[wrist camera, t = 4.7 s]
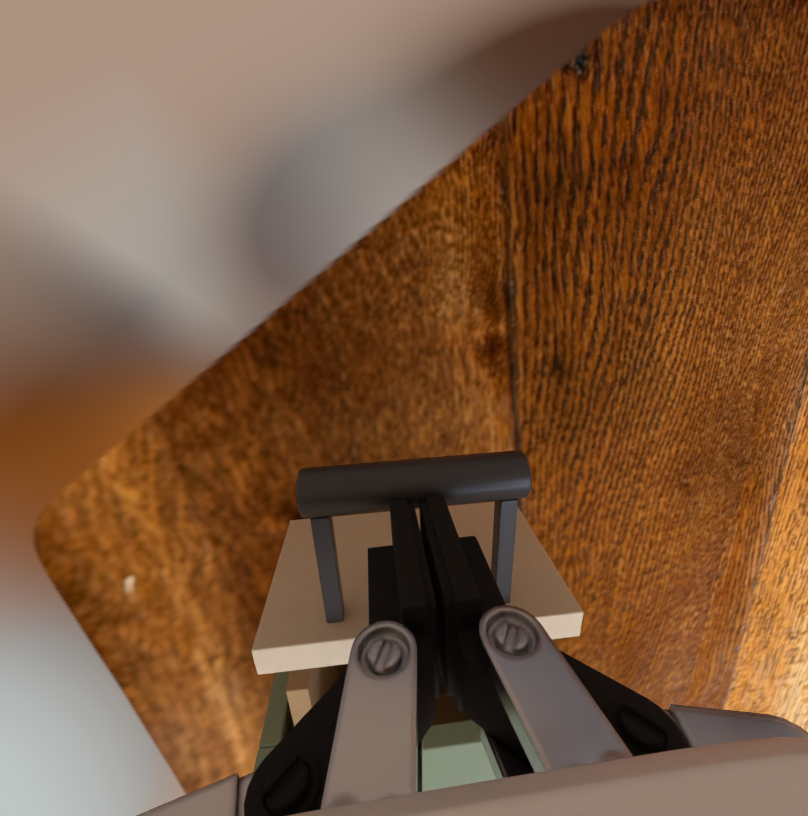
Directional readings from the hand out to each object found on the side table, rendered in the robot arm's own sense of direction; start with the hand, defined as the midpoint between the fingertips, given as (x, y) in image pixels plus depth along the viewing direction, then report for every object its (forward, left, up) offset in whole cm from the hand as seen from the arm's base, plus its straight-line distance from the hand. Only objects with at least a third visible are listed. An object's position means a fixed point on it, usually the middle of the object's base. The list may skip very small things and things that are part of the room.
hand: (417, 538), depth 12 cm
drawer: (+7, -3, -7) cm, 10 cm away
